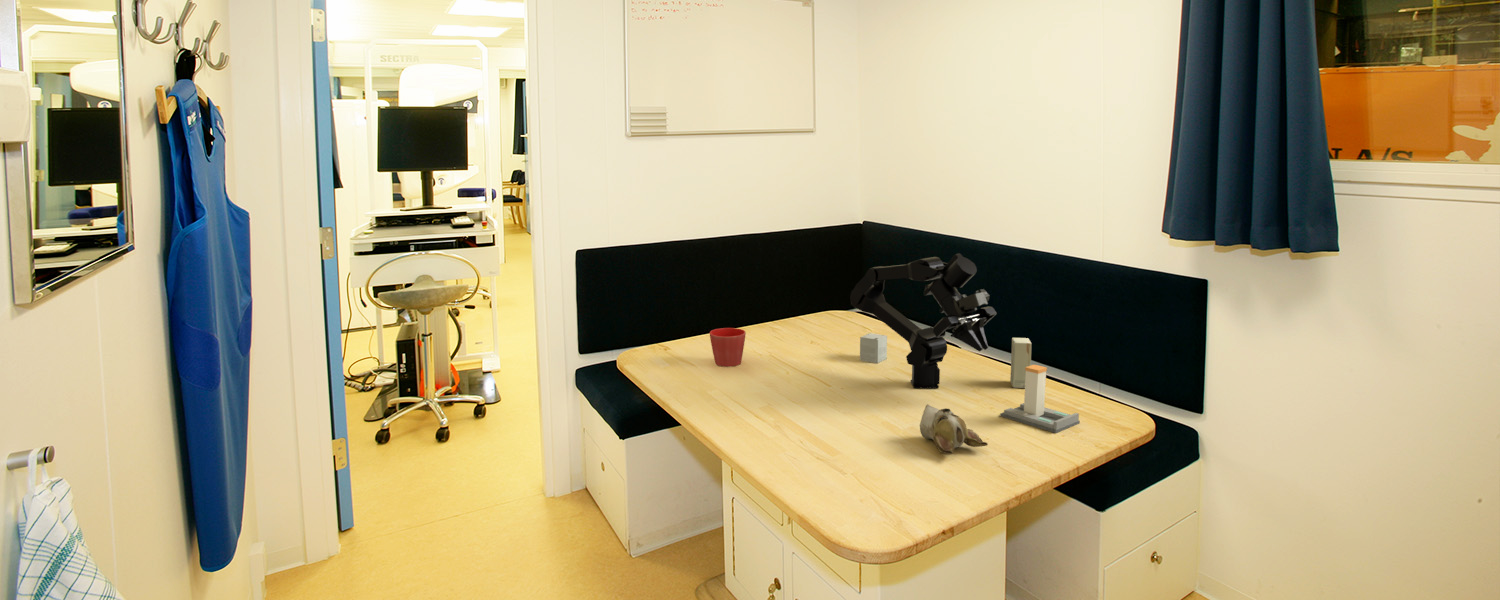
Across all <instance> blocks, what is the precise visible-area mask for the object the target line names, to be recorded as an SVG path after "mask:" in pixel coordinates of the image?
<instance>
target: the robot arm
mask: <svg viewBox="0 0 1500 600" xmlns="http://www.w3.org/2000/svg"><path fill="white" fill-rule="evenodd" d="M977 271H978V269H977V266H976V264H975V263H974V262H973V261H972V260H970V259H969V258H967V257H964V256H963V254H961V253H956V254H954V255H953V256H952V258H951V259H950V260H949V261H948V262H944V261H942V259H941V258H940V257H938V256H933V257H932V256H931V257H925V258H920V259H916V260H913V261H911V262H909V263H907V264H899V265H898V264H897V265H890V266H889V265H887V266H882V265H881V266H874V267H870V268H869V269H868V270H867V271H866V272H865V275H864V276H863V277H862V278H861V279H860V280H859V281H858V282H857V283H856V284H855V286H854V288H853V289H852V290H851V292H850V296H849V300H850V304H851V306H853V308H855V309H856V310H859V311H861V312H863V313H867V314H871V315H874V316H875V318H877V319H879V320H880V321H881V322H882V323H884V324H885V325H886V326H887V327H889V328H890V329H891V330H892V331H894V333H896V334H898V335H899V336H900V337H902V339H904V340H905V341H906V342H907V343H908V346H909V349H910V352H908V354H907V355H906V357H905V358H906V362H907V364H908V365H911V379H910V384H911V386H912V387H913V389H939V387H940V386H939V385H940V380H941V379H940V377H941V369H940V368H939V363H941V362H943V361H944V360H943V359H944V357H945V355H946V354H947V351H948V344H947V341H946V339H945V338H944V337H945V336H946V330H950V329H951V331H952V333H951V334H950V337H951V338H954V339H956V340H959V341H960V342H962V343H964V344H966V345H968V346H969V347H971V348H973V349H975V350H976V351H978V352H981V351H982V350H984V351H985V350H988V348H989V345H988V341H987V338H986V334H985V329H984V326H985V325H987V323H989V322H990V321H991V320H992V319H993V318H994V317H995V316H996V315H997V314H998V312H997V311H996V310H995V308H994V307H993V306H986V305H988V304H989V302H988V301H990V297H991V295H990V294H989V293H988V292H987V291H986V290H985V288H983V289H982V288H981V289H979V290H976V291H974V293H973V294H970V295H968V296H967V294H961V293H960V292H959V290H958V289H961V288H963V287H964V285H966V284H967V283H968V281H970V280H971V279H972V278H973V277H974V276H975V275H976V273H977ZM903 279H909V280H912V281H917V282H926V281H932V282H931V283H928V284H925V285H924V286H925V287H924V290H923V296H930V295H932V296H933V298H934V299H935V300H936V302H937V303H938V305H939V306H940V308H939V309H938V311H939V313H940V314H943V313H944V314H945V315H946V316H943V317H942V318H941V319H940V320H939V321H938V322H936V324H935V325H933V326H931V327H926V328H923V329H922V328H921V327H919V326H918V325H917V324H916V323H914V322H913V321H911V320H910V319H909V318H907V316H905V315H903V314H902V313H901V312H900V311H898V310H897V309H896V308H894V307H893V306H892V305H891V304H889V303H888V302H887V301H886V299H885V296H884V294H883V293H884V290H885V282H886V281H892V280H903ZM982 306H984V307H982ZM978 307H981V308H979V309H978Z"/></svg>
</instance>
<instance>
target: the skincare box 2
mask: <svg viewBox="0 0 1500 600" xmlns="http://www.w3.org/2000/svg"><path fill="white" fill-rule="evenodd" d="M1031 341H1032V340H1030V338H1028V337H1027V338H1026V337H1012V338H1011V354H1010V355H1011V358H1010V360H1011V361H1010V385H1011V386H1012V388H1017V389H1025V378H1026V371H1025V367H1028V366H1031V365H1032V362H1031V361H1032V342H1031Z"/></svg>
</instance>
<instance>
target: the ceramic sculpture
mask: <svg viewBox="0 0 1500 600" xmlns="http://www.w3.org/2000/svg"><path fill="white" fill-rule="evenodd" d="M919 432H920V434H921V436H922V437H923V438H924V439H926V440H933V442H934V444H935V447H936V448H937V449H938V450H939V452H941V453H943V454H947V455H948V454H949V455H950V454H951V455H952V454H953V452H954V451H955V449H956V448H959V447H961V446H962V445H963V444H965V445H966V446H969V447H973V448H978V447H985V446H986V447H987V446H988V442H986V441H983V439H982V438H980V436H979V435H978V433H976V432H974V430H972V429H970V428H968V427H967V424H966V423H965V420H964V419H963V418H962V417H960V416H959V415H956V414H954V413H953V411H952V410H951V409H950V408H941V409H939V408H937V407H935V406H931V405H930V404H926V405H925V407H924V410H923V412H922V416H921V420H920V423H919Z"/></svg>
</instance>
